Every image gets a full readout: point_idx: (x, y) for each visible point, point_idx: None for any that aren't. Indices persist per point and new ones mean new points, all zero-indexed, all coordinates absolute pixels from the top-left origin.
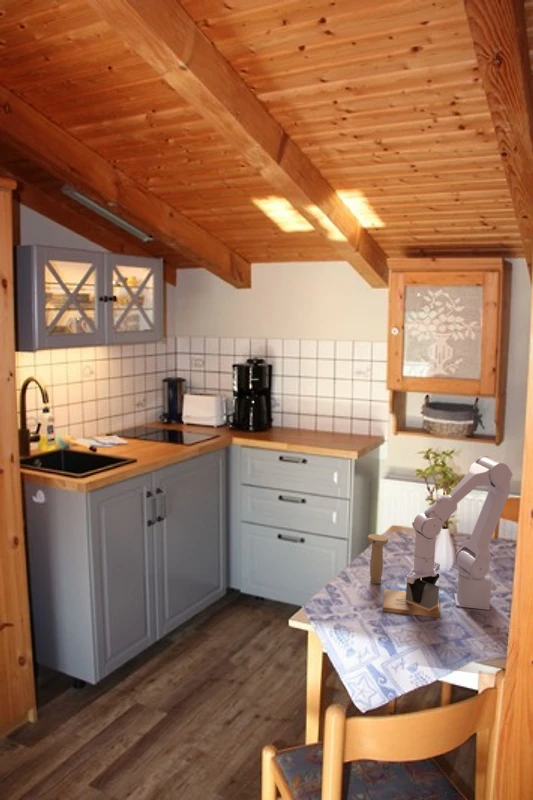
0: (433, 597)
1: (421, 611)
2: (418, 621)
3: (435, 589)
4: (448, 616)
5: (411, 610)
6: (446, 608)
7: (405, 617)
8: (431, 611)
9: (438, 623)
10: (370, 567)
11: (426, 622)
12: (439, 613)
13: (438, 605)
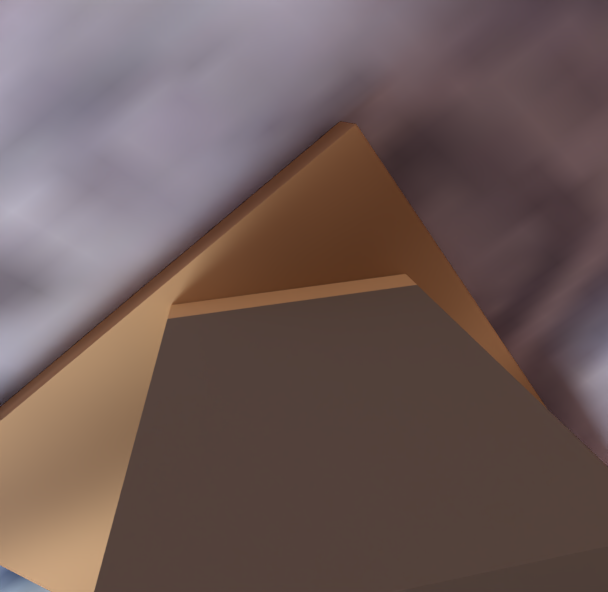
0: (369, 389)
1: (484, 323)
2: (604, 226)
3: (336, 567)
4: (195, 55)
5: (538, 397)
6: (19, 240)
7: (603, 358)
8: (389, 249)
9: (496, 19)
10: None
11: (571, 150)
12: (353, 133)
13: (147, 311)
